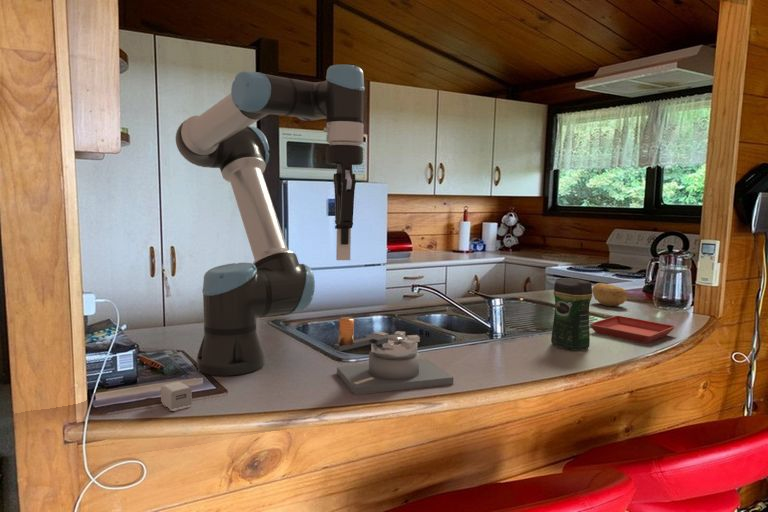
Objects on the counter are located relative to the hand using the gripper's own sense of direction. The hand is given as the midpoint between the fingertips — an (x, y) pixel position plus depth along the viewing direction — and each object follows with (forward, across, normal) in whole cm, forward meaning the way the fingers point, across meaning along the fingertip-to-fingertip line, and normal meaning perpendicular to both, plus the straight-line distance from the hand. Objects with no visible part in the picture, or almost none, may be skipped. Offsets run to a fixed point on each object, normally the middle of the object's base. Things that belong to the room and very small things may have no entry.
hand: (343, 259), depth 117 cm
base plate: (+26, 0, +12) cm, 29 cm away
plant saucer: (+27, -26, +91) cm, 98 cm away
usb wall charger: (+27, +7, -33) cm, 43 cm away
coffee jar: (+27, -17, +65) cm, 72 cm away
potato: (+27, -66, +111) cm, 132 cm away
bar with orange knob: (+21, +2, +7) cm, 22 cm away
